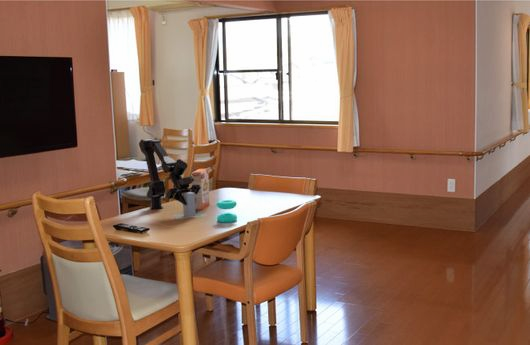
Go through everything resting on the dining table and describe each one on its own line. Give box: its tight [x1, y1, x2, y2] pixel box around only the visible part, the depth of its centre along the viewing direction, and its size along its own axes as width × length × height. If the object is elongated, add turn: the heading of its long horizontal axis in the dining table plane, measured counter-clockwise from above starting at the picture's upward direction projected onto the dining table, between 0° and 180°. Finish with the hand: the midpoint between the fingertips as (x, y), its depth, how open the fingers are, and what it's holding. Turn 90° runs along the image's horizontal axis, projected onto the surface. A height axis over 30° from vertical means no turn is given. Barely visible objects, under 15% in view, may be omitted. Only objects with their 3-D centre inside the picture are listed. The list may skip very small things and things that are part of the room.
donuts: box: [216, 199, 238, 223], centre depth 321 cm, size 10×10×10 cm
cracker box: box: [191, 168, 210, 210], centre depth 356 cm, size 14×6×21 cm, turn 168°
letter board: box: [173, 211, 208, 220], centre depth 335 cm, size 12×16×1 cm
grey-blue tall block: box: [182, 192, 197, 217], centre depth 334 cm, size 4×4×12 cm
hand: (190, 204), depth 333 cm, fingers open, 5 cm apart
